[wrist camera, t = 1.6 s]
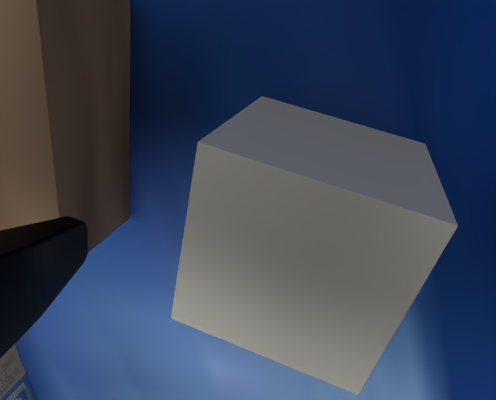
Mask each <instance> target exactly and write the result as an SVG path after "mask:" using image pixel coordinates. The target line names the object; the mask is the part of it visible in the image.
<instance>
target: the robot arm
mask: <svg viewBox="0 0 496 400" xmlns="http://www.w3.org/2000/svg"><path fill="white" fill-rule="evenodd" d="M87 254H88V226H87V224H86V223H85V222H84V221H82V220H79V219H77V218H74V217H71V216H65V217H60V218H56V219H51V220H46V221H42V222H37V223H32V224H28V225H23V226H18V227H14V228H9V229H5V230H0V359H1V358H2V357H3V356H4V355H5V354H6V353H7V351H8V350H9V349H10V348H11V347H12V346H13V345H14V344H15V343H16V342H17V341H18V340H19V339H20V338H21V337H22V336H23V335H24V334H25V333H26V332H27V331H28V330H29V329H30V328H31V327H32V325H33V324H34V323H35V322H36V321H37V320H38V319H39V318H40V317H41V316H42V314H43V313H44V312H45V311H46V310H47V308H48V307H49V306H50V305H51V303H52V302H53V301H54V300H55V298H56V297H57V296H58V294H59V293H60V292H61V291H62V289H63V288H64V287H65V286H66V284H67V283H68V282H69V281H70V279H71V278H72V277H73V275H74V274H75V273H76V272H77V270H78V269H79V268H80V267H81V265H82V264H83V263H84V261H85V259H86V257H87Z"/></svg>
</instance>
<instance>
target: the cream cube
mask: <svg viewBox="0 0 496 400" xmlns="http://www.w3.org/2000/svg"><path fill="white" fill-rule="evenodd" d="M457 227H458V225H457V222H456V220H455V217H454V215H453V212H452V210H451V207H450V205H449V202H448V199H447V197H446V194H445V192H444V189H443V187H442V184H441V182H440V179H439V177H438V174H437V172H436V169H435V167H434V164H433V162H432V159H431V157H430V154H429V152H428V149H427V147H426V144H425V143H421V142H418V141H414V140H411V139H408V138H404V137H401V136H397V135H394V134H390V133H387V132H384V131H380V130H377V129H373V128H370V127H366V126H363V125H360V124H356V123H353V122H349V121H346V120H343V119H339V118H336V117H332V116H329V115H325V114H322V113H319V112H315V111H312V110H308V109H305V108H301V107H298V106H295V105H291V104H288V103H284V102H281V101H277V100H274V99H271V98H267V97H264V96H261V97H260V98H259V99H257V100H256V101H254V102H253V103H252V104H250V105H249V106H247V107H246V108H245V109H243V110H242V111H240V112H239V113H238V114H236V115H235V116H233V117H232V118H231V119H229V120H228V121H226V122H225V123H224V124H222V125H221V126H219V127H218V128H217V129H215V130H214V131H212V132H211V133H210V134H208V135H207V136H205V137H204V138H203V139H201V140H200V141H198V143H197V150H196V156H195V163H194V170H193V176H192V183H191V189H190V196H189V202H188V209H187V215H186V222H185V229H184V235H183V242H182V248H181V255H180V261H179V268H178V274H177V281H176V288H175V294H174V301H173V307H172V314H171V319H174V320H176V321H178V322H181V323H183V324H186V325H188V326H191V327H193V328H195V329H198V330H200V331H203V332H205V333H208V334H210V335H213V336H215V337H217V338H220V339H222V340H225V341H227V342H230V343H232V344H235V345H237V346H239V347H242V348H244V349H247V350H249V351H252V352H254V353H257V354H259V355H261V356H264V357H266V358H269V359H271V360H274V361H276V362H279V363H281V364H283V365H286V366H288V367H291V368H293V369H296V370H298V371H301V372H303V373H305V374H308V375H310V376H313V377H315V378H318V379H320V380H323V381H325V382H327V383H330V384H332V385H335V386H337V387H340V388H342V389H344V390H347V391H349V392H352V393H354V394H357V395H358V394H359V393H360V391H361V389H362V388H363V386H364V384H365V383H366V381H367V379H368V378H369V376H370V374H371V372H372V371H373V369H374V367H375V366H376V364H377V362H378V361H379V359H380V357H381V355H382V354H383V352H384V350H385V349H386V347H387V345H388V344H389V342H390V340H391V339H392V337H393V335H394V333H395V332H396V330H397V328H398V327H399V325H400V323H401V322H402V320H403V318H404V316H405V315H406V313H407V311H408V310H409V308H410V306H411V305H412V303H413V301H414V300H415V298H416V296H417V294H418V293H419V291H420V289H421V288H422V286H423V284H424V283H425V281H426V279H427V277H428V276H429V274H430V272H431V271H432V269H433V267H434V266H435V264H436V262H437V261H438V259H439V257H440V255H441V254H442V252H443V250H444V249H445V247H446V245H447V244H448V242H449V240H450V238H451V237H452V235H453V233H454V232H455V230H456V228H457Z"/></svg>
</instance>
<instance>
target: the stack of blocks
mask: <svg viewBox="0 0 496 400" xmlns="http://www.w3.org/2000/svg"><path fill="white" fill-rule="evenodd" d="M0 400H36V398H35V395H34V393H33V390H32V388H31V385H30V382H29V379H28V376H27V375H26V373H25V369H24V367H23V364H22V361H21V359H20V356H19V353H18V351H17V348H16V345H15V344H14V345H13V346H12V347H11V348H10V349H9V350H8V351H7V353H6V354H5V355H4V356H3V357H2V358H1V359H0Z"/></svg>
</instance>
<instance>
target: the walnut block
mask: <svg viewBox="0 0 496 400" xmlns="http://www.w3.org/2000/svg"><path fill="white" fill-rule="evenodd" d="M65 216H71V217H74V218H77V219H79V220H82V221H84V222H85V223H86V224H87V226H88V252H89V251H90V250H92V249H93V248H94V247H95V246H96V245H98V244H99V243H100V242H101V241H103V240H104V239H105V238H106V237H107V236H109V235H110V234H111V233H112V232H113V231H115V230H116V229H117V228H118V227H119V226H121V225H122V224H123V223H124V222H125V221H127V220H128V219H129V218H130V0H0V230H5V229H9V228H14V227H18V226H23V225H28V224H32V223H37V222H42V221H46V220H51V219H56V218H60V217H65Z"/></svg>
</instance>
